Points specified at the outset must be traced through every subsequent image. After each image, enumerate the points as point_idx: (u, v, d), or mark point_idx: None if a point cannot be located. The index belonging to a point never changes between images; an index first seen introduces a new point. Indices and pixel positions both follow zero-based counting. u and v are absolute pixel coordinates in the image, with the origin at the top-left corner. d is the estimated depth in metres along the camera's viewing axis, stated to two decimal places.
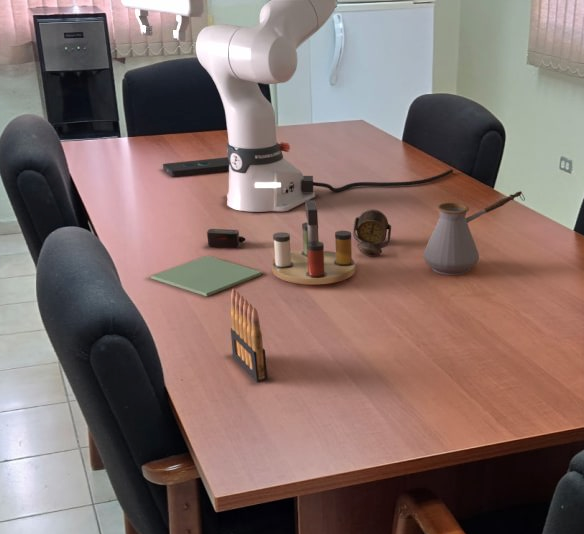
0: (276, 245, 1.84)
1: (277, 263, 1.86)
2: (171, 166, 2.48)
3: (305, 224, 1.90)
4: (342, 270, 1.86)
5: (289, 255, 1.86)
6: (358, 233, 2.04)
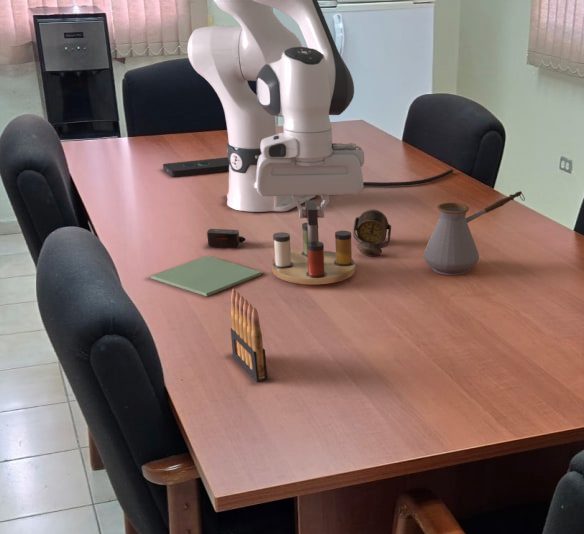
0: (276, 245, 1.84)
1: (277, 263, 1.86)
2: (171, 166, 2.48)
3: (305, 224, 1.90)
4: (342, 270, 1.86)
5: (289, 255, 1.86)
6: (358, 233, 2.04)
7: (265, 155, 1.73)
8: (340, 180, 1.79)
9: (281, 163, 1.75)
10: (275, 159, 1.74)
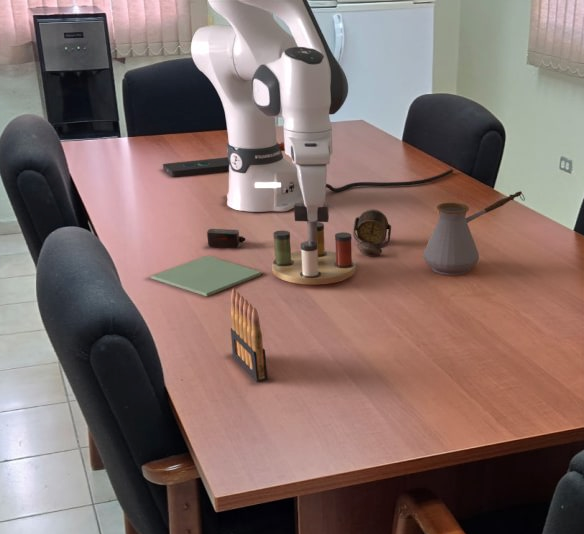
0: (313, 255, 1.80)
1: (314, 273, 1.82)
2: (171, 166, 2.48)
3: (280, 234, 1.84)
4: None
5: None
6: (358, 233, 2.04)
7: (329, 161, 1.71)
8: None
9: None
10: (326, 163, 1.73)
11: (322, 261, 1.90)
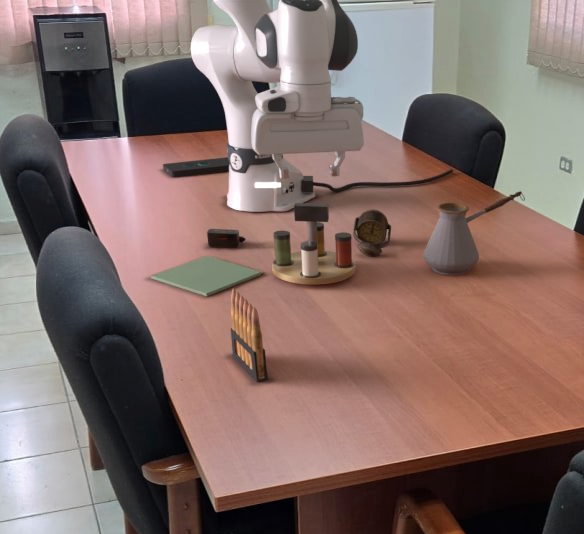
0: (313, 255, 1.80)
1: (314, 273, 1.82)
2: (171, 166, 2.48)
3: (280, 234, 1.84)
4: None
5: None
6: (358, 233, 2.04)
7: (264, 110, 1.64)
8: (340, 136, 1.72)
9: (280, 119, 1.66)
10: (274, 114, 1.65)
11: (322, 261, 1.90)
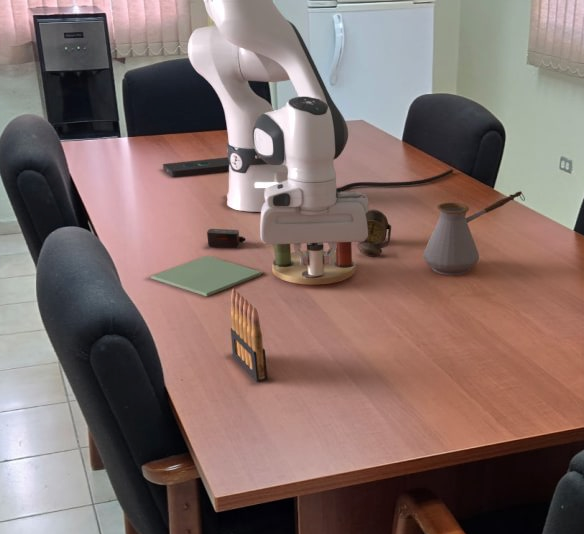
0: (320, 255, 1.80)
1: (320, 272, 1.82)
2: (171, 166, 2.48)
3: None
4: (335, 255, 1.93)
5: None
6: None
7: (269, 204, 1.71)
8: (344, 228, 1.78)
9: (285, 212, 1.74)
10: (279, 208, 1.73)
11: None
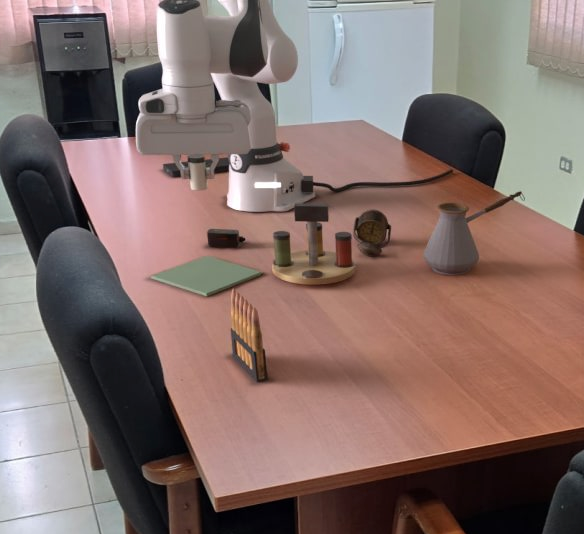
0: (201, 168, 1.74)
1: (203, 187, 1.76)
2: (171, 166, 2.48)
3: (280, 234, 1.84)
4: (335, 255, 1.93)
5: None
6: (358, 233, 2.04)
7: (142, 111, 1.65)
8: (224, 139, 1.72)
9: (160, 120, 1.67)
10: (153, 115, 1.66)
11: (321, 261, 1.90)
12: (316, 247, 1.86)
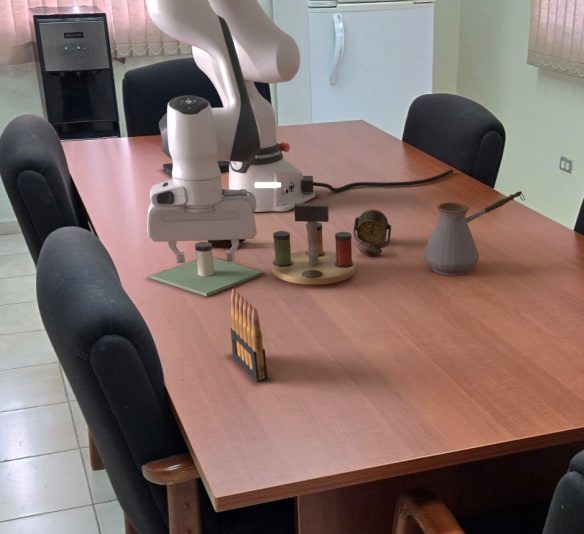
0: (208, 255, 1.83)
1: (210, 273, 1.85)
2: (171, 166, 2.48)
3: (280, 234, 1.84)
4: (335, 255, 1.93)
5: None
6: (358, 233, 2.04)
7: (153, 202, 1.74)
8: (231, 226, 1.80)
9: (170, 210, 1.76)
10: (164, 206, 1.75)
11: (321, 261, 1.90)
12: (316, 247, 1.86)
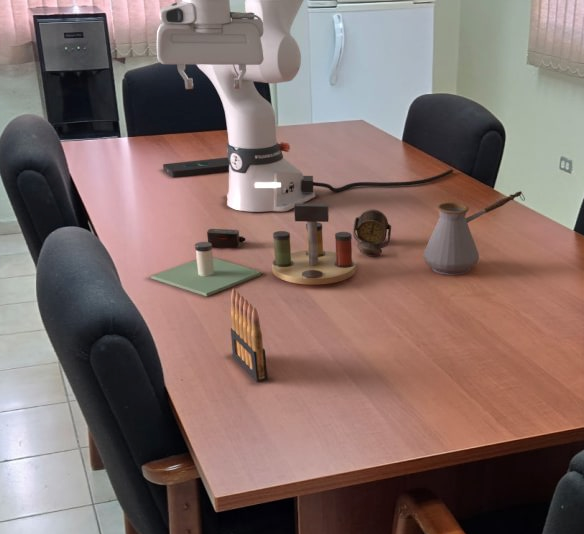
0: (208, 255, 1.83)
1: (210, 273, 1.85)
2: (171, 166, 2.48)
3: (280, 234, 1.84)
4: (335, 255, 1.93)
5: None
6: (358, 233, 2.04)
7: (163, 20, 1.77)
8: (239, 49, 1.84)
9: (179, 30, 1.79)
10: (173, 25, 1.78)
11: (321, 261, 1.90)
12: (316, 247, 1.86)
